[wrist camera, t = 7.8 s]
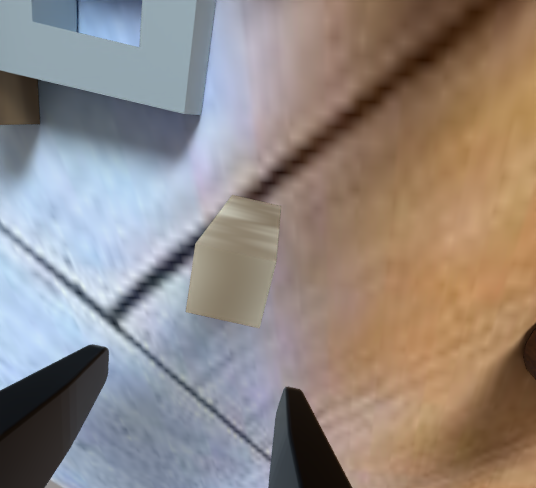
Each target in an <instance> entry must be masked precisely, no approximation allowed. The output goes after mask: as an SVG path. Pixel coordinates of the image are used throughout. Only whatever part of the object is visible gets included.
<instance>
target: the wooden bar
mask: <svg viewBox="0 0 536 488" xmlns="http://www.w3.org/2000/svg"><path fill="white" fill-rule="evenodd" d="M280 213H281V206H278V205H273V204H269V203H265V202H260V201H256V200H252V199H247V198H243V197H239V196H234V195H232V196H231V197H230V199H229V200H228V201H227V203H226V204H225V205H224V207H223V208H222V209H221V211H220V212H219V213H218V215H217V216H216V217H215V219H214V220H213V221H212V223H211V224H210V225H209V226H208V228H207V229H206V230H205V232H204V233H203V234H202V236H201V237H200V238H199V240H198V241H197V242H196V244H195V251H194V258H193V265H192V272H191V279H190V286H189V293H188V299H187V306H186V312H188V313H193V314H197V315H202V316H206V317H211V318H215V319H220V320H224V321H229V322H233V323H238V324H242V325H247V326H251V327H256V328H260V324H261V320H262V316H263V312H264V308H265V304H266V300H267V297H268V293H269V289H270V285H271V281H272V277H273V273H274V269H275V265H276V260H277V248H278V237H279V225H280Z"/></svg>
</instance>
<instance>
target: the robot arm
mask: <svg viewBox="0 0 536 488" xmlns="http://www.w3.org/2000/svg"><path fill="white" fill-rule="evenodd" d="M108 362H109V350H108V348H106V347H103V346H98V345H93V344H92V345H88V346H86V347H84V348H82V349H80V350H78V351H76V352H74V353H72V354H70V355H68V356H67V357H65V358H63V359H61V360H59V361H57V362H55V363H53V364H51V365H49V366H47V367H45V368H43V369H41V370H39V371H37V372H35V373H33V374H31V375H29V376H28V377H26V378H24V379H22V380H20V381H18V382H16V383H14V384H12V385H10V386H8V387H6V388H4V389H2V390H0V488H45V486H46V485H47V483H48V482H49V480H50V479H51V477H52V475H53V474H54V472H55V471H56V469H57V468H58V466H59V465H60V463H61V462H62V460H63V459H64V457H65V455H66V454H67V452H68V451H69V449H70V447H71V446H72V444H73V442H74V440H75V438H76V437H77V435H78V433H79V431H80V429H81V427H82V425H83V423H84V422H85V420H86V418H87V416H88V414H89V412H90V410H91V408H92V406H93V405H94V403H95V401H96V399H97V397H98V395H99V393H100V391H101V389H102V388H103V386H104V384H105V382H106V379H107V376H108ZM268 488H352V486H351V484H350V482H349V480H348V479H347V477H346V475H345V473H344V471H343V469H342V467H341V465H340V463H339V461H338V459H337V457H336V455H335V454H334V452H333V450H332V448H331V446H330V444H329V442H328V440H327V438H326V436H325V434H324V432H323V430H322V429H321V427H320V425H319V423H318V421H317V419H316V417H315V415H314V413H313V411H312V409H311V407H310V405H309V404H308V402H307V400H306V398H305V396H304V394H303V392H302V391H301V390H300V389H296V388H292V387H285V388H284V390H283V393H282V396H281V399H280V402H279V406H278V409H277V413H276V418H275V427H274V437H273V446H272V456H271V465H270V475H269V487H268Z"/></svg>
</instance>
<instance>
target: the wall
mask: <svg viewBox="0 0 536 488" xmlns="http://www.w3.org/2000/svg"><path fill="white" fill-rule="evenodd" d="M21 124H40V115H39V95H38V79H35V78H30V77H26V76H22V75H18V74H14V73H9V72H5V71H1V70H0V125H21Z"/></svg>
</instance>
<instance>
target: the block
mask: <svg viewBox="0 0 536 488" xmlns="http://www.w3.org/2000/svg"><path fill="white" fill-rule="evenodd" d="M215 4H216V0H142V12H141V29H140V47H136V46H131V45H127V44H123V43H119V42H115V41H111V40H107V39H102V38H98V37H94V36H90V35H86V34H82V33H78V32H77V0H0V70H1V71H5V72H9V73H14V74H18V75H22V76H26V77H30V78H35V79H39V80H43V81H47V82H51V83H56V84H60V85H64V86H68V87H73V88H77V89H81V90H85V91H89V92H94V93H98V94H102V95H106V96H110V97H115V98H119V99H123V100H127V101H132V102H136V103H140V104H144V105H148V106H153V107H157V108H161V109H165V110H169V111H174V112H178V113H182V114H193V115H201V112H202V104H203V96H204V89H205V81H206V73H207V66H208V58H209V50H210V43H211V35H212V27H213V20H214V12H215Z"/></svg>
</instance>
